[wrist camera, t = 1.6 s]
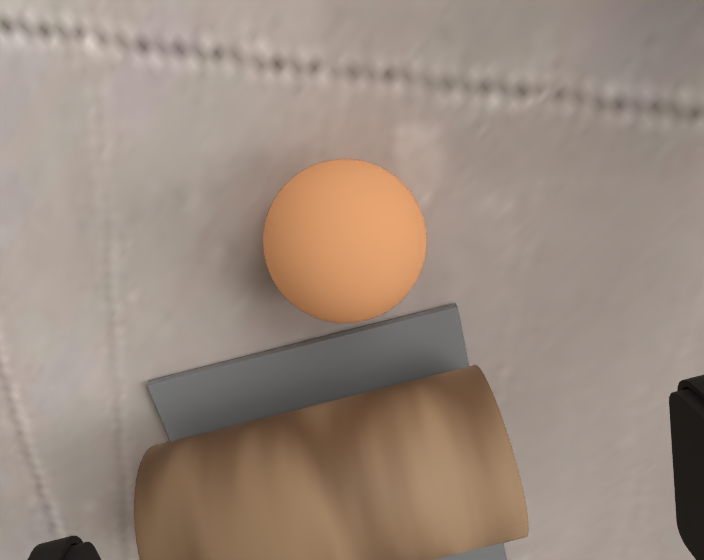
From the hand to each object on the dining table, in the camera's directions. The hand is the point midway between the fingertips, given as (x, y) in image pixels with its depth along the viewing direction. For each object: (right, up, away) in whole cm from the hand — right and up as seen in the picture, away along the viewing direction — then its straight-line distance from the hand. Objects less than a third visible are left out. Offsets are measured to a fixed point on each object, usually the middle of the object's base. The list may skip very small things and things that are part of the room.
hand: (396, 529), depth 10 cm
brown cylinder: (-2, -3, +20) cm, 20 cm away
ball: (-1, +5, +13) cm, 15 cm away
